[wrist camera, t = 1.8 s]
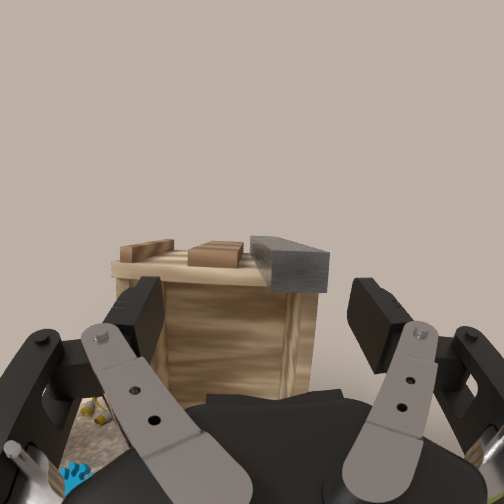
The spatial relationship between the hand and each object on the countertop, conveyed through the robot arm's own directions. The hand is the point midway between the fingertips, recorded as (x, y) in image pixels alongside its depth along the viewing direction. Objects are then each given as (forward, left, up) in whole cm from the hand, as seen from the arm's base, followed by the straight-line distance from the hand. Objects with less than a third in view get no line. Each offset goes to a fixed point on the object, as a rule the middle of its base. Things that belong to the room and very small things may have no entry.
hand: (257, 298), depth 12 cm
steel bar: (-7, +16, -1) cm, 18 cm away
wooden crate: (-15, +18, -32) cm, 40 cm away
